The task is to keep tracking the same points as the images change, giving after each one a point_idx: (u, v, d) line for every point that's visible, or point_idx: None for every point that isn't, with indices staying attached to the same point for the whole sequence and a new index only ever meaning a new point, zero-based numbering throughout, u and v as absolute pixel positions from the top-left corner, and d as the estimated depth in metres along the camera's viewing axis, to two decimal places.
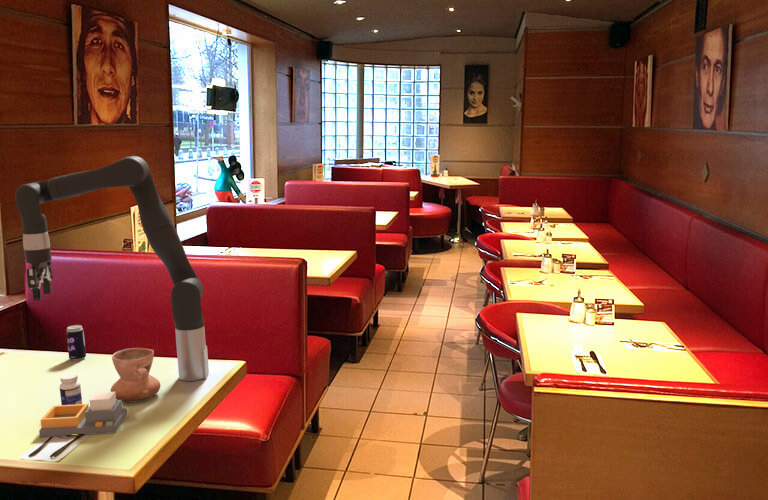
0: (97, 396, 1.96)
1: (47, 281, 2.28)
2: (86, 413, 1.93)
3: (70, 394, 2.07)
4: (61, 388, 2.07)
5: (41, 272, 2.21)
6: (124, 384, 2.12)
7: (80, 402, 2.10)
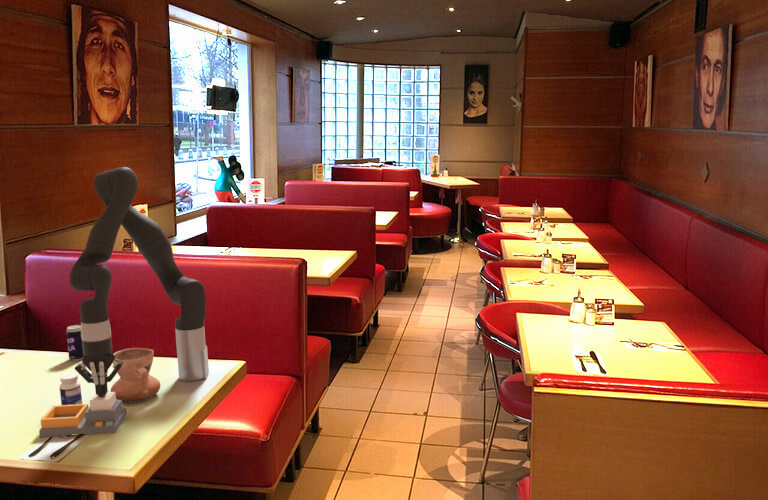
0: (97, 397, 1.96)
1: None
2: (86, 413, 1.93)
3: (70, 394, 2.07)
4: (61, 388, 2.07)
5: None
6: (124, 384, 2.12)
7: (80, 402, 2.10)
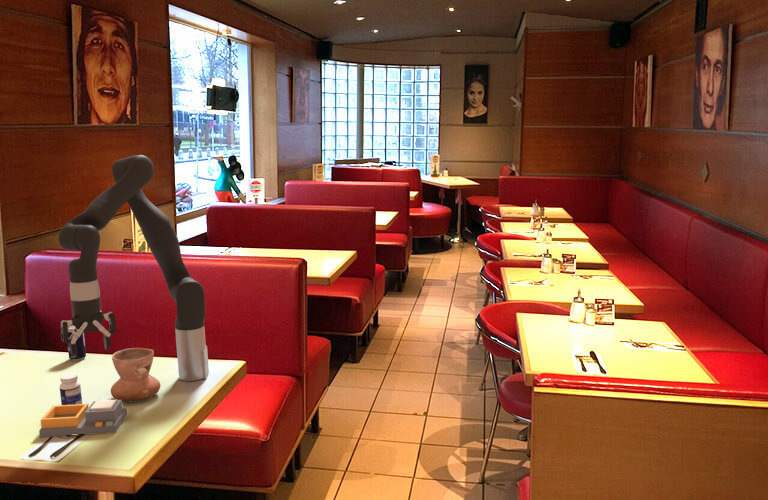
0: (98, 405, 1.96)
1: None
2: (86, 413, 1.93)
3: (70, 394, 2.07)
4: (61, 388, 2.07)
5: None
6: (124, 384, 2.12)
7: (80, 402, 2.10)
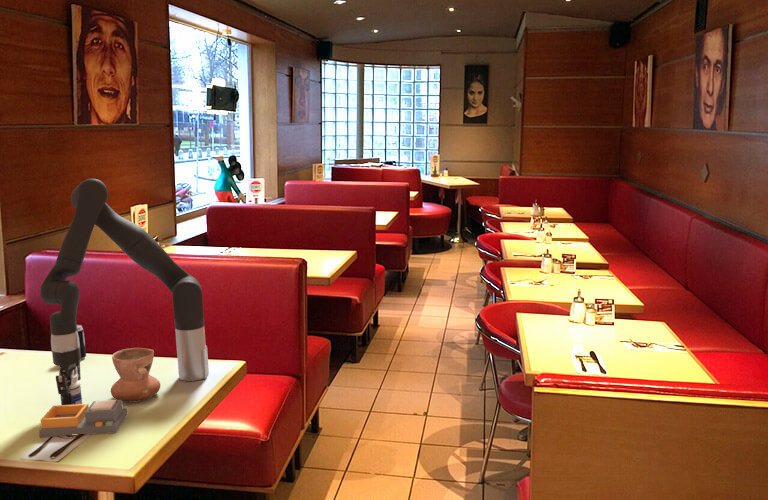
0: (98, 405, 1.96)
1: None
2: (86, 413, 1.93)
3: None
4: None
5: None
6: (124, 384, 2.12)
7: (80, 402, 2.10)
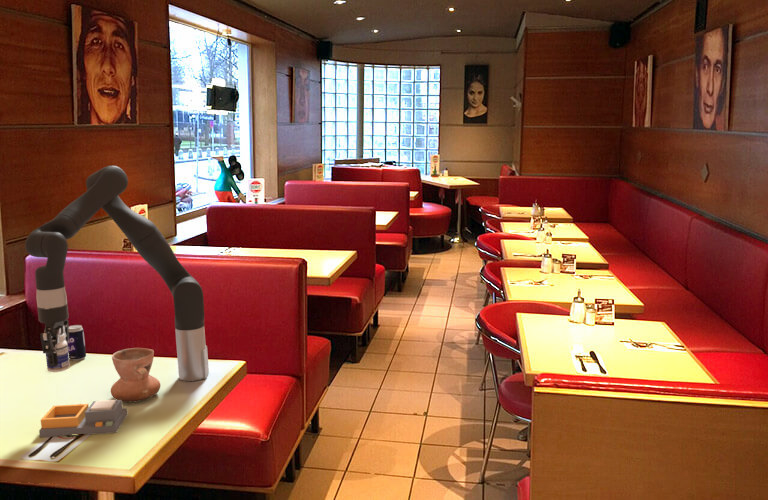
0: (98, 405, 1.96)
1: None
2: (86, 413, 1.93)
3: None
4: None
5: None
6: (124, 384, 2.12)
7: (67, 363, 1.97)
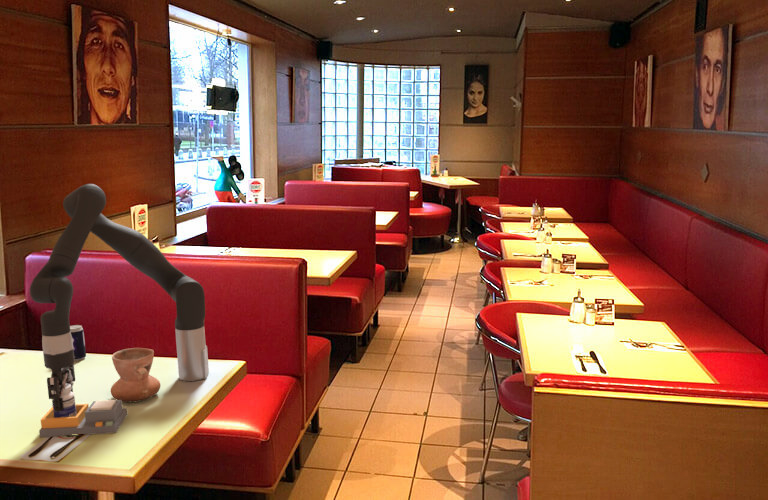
0: (98, 405, 1.96)
1: None
2: (86, 413, 1.93)
3: (63, 406, 1.93)
4: None
5: None
6: (124, 384, 2.12)
7: (74, 414, 1.96)
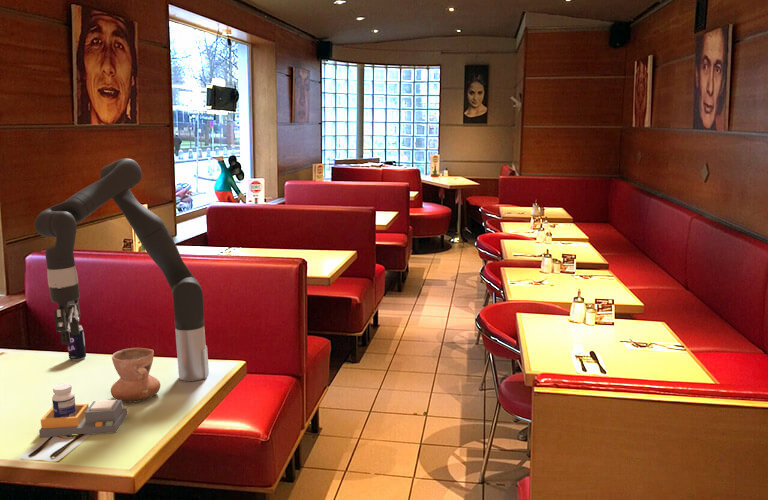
0: (98, 405, 1.96)
1: None
2: (86, 413, 1.93)
3: (63, 406, 1.93)
4: (54, 399, 1.93)
5: None
6: (124, 384, 2.12)
7: (74, 414, 1.96)
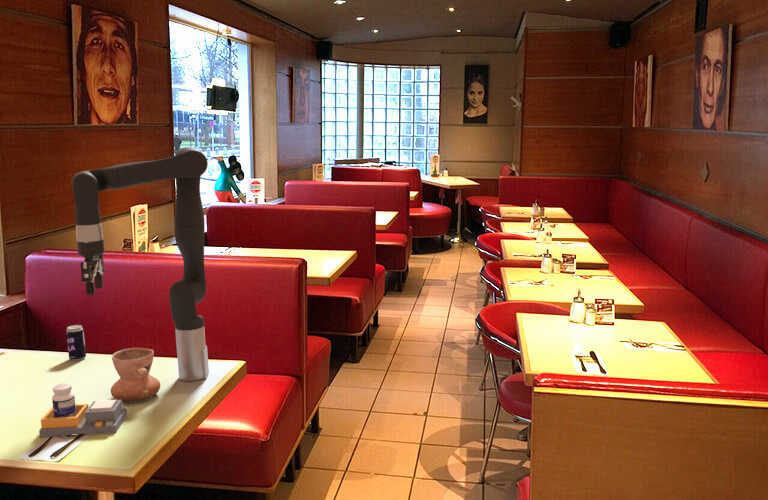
0: (98, 405, 1.96)
1: None
2: (86, 413, 1.93)
3: (63, 406, 1.93)
4: (54, 399, 1.93)
5: None
6: (124, 384, 2.12)
7: (74, 414, 1.96)
